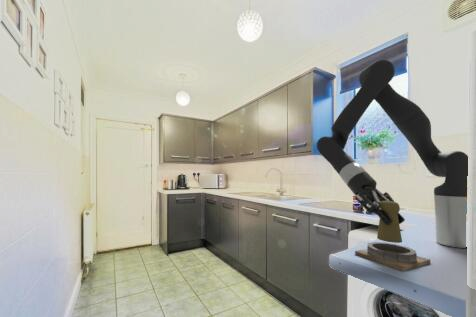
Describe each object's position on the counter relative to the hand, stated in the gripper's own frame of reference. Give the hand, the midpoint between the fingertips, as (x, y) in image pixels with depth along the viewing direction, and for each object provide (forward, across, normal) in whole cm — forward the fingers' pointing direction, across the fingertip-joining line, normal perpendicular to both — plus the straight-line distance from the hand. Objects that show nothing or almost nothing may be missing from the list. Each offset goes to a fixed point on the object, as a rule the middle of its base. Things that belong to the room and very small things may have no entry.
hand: (396, 222), depth 64 cm
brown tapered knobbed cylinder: (+2, 0, +5) cm, 6 cm away
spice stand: (+6, 0, +8) cm, 11 cm away
